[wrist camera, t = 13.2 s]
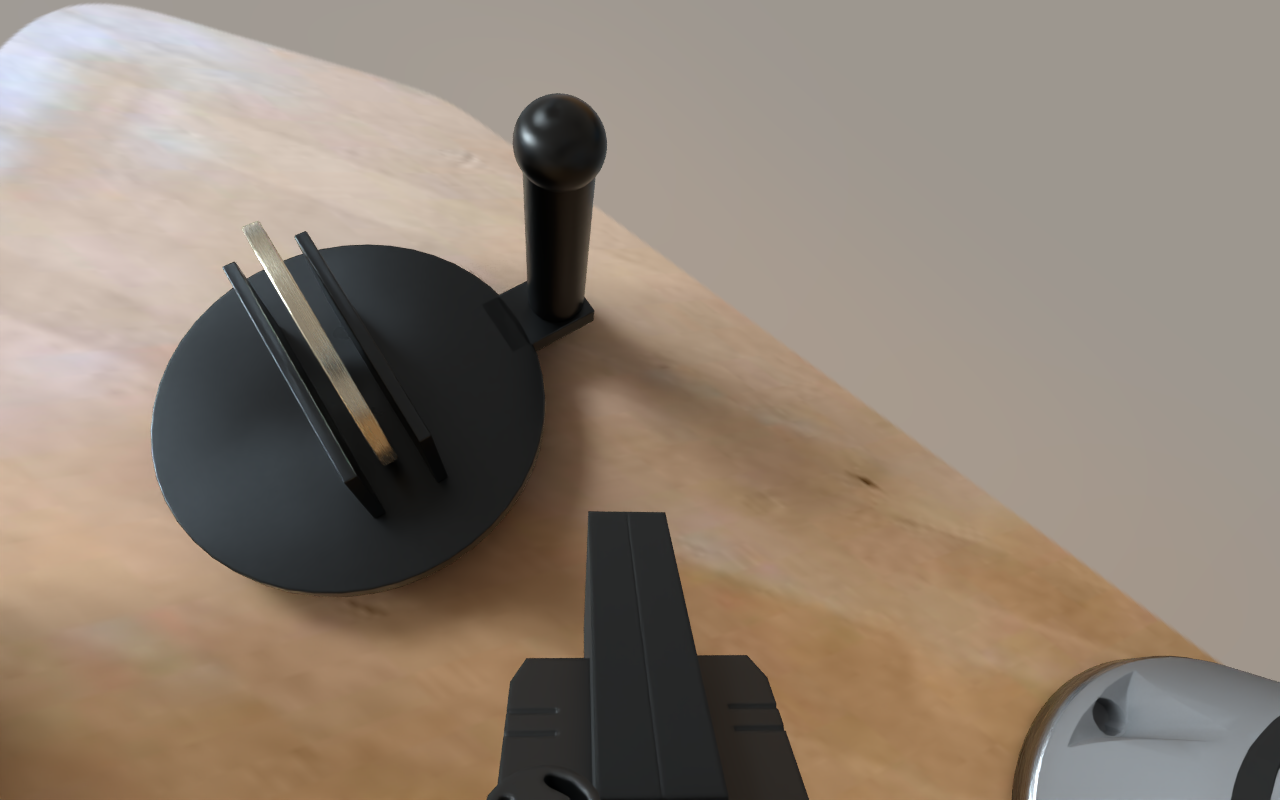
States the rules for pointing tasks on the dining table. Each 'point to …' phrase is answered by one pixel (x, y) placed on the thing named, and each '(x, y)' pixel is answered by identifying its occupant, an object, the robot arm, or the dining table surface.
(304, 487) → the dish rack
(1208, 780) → the robot arm
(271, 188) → the dining table surface
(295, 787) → the dining table surface
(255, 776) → the dining table surface
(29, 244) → the dining table surface
